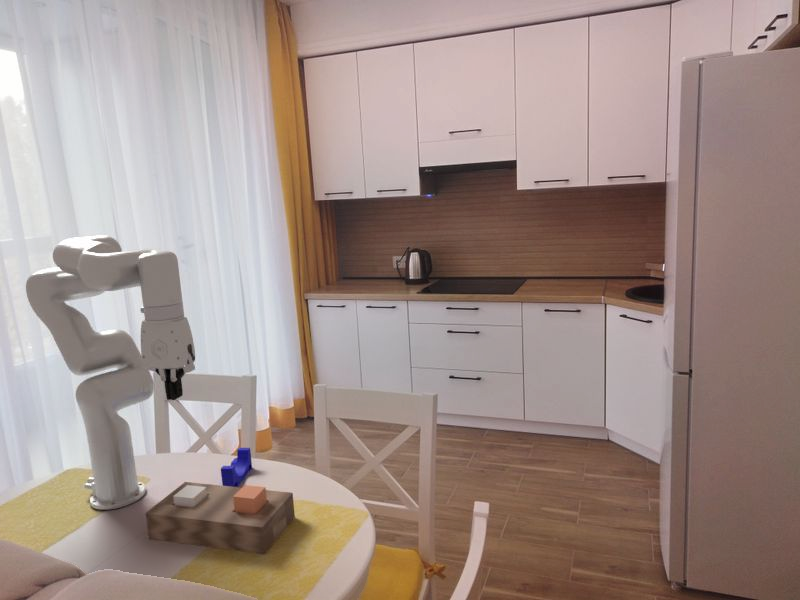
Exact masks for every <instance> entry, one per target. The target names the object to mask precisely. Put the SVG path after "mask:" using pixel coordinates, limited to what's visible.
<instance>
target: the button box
mask: <svg viewBox="0 0 800 600" xmlns="http://www.w3.org/2000/svg"><path fill="white" fill-rule="evenodd" d="M187 485H191V486H201V487H206V489H207V497H206V498H205V499H204V500H203V501H201V502H200V503H199V504H198V505H197V506H196V507H195V508H194V507H185V506H176V505H174V497H173V496H174V495H175V494H177V493H178V492H179V491H180V490H182V489H183V488H184V487H185V486H187ZM242 488H243V487H241V486H238V487H231V486H223V485H222V484H219V485H218V484H210V483H209V484H208V483H199V482H190V481H188V482H187V481H184V482H183V483H182V484H180V485H179V486H178V487H177V488H175V489H174V490H173V491H172V492H170V493H169V494H168V495H166V496H165V497H164V498H163V499H161V500H160V501H158V502H157V503H155V505H154V506H152V507H151V508H150V509H148V510H147V511H146V512H145V513H144V514H145V521H146V527H147V528H146V529H147V535H148V540H149V539H150V540H158V541H164V542H172V543H180V544H187V545H193V546H194V545H195V546H201V547H202V546H203V547H210V548H216V549H224V550H232V551H238V552H239V551H240V552H245V553H247V552H248V553H255V554H260V555H262V554H263V555H266V553H267V552H268V551H269V550H270V548H271V547H272V546H273V545H274V543H275V542H276V541H277V540H278V539H279V537H280V536H282V533H283V532H284V531H285V530H286V528H288V526H289V525H290V524H291V523H292V521H293V520H294V519H295V518H296V517H295V506H294V505H295V504H294V503H295V502H294V494H293V492H289V491H288V492H287V491H279V490H270V489H269V490H267V489H266V497H267V504H266V505H265V506H264V507H263V508H262V509H261V510H260V511H259V512H258V513H257V514H256V515H255V514H246V513H237V512H235V510H234V501H233V496H234V495H235V494H236V493H237V492H238V491H239V490H241V489H242ZM294 517H295V518H294ZM293 518H294V519H293Z"/></svg>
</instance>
